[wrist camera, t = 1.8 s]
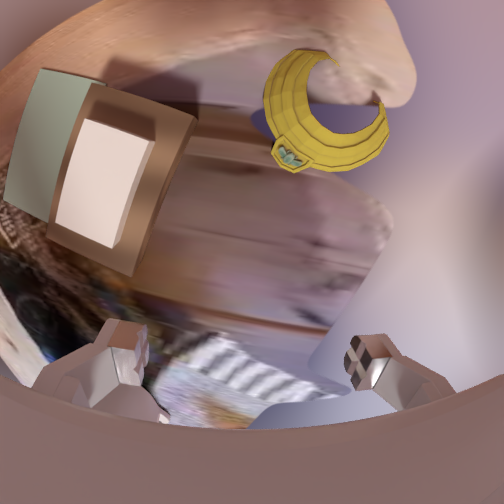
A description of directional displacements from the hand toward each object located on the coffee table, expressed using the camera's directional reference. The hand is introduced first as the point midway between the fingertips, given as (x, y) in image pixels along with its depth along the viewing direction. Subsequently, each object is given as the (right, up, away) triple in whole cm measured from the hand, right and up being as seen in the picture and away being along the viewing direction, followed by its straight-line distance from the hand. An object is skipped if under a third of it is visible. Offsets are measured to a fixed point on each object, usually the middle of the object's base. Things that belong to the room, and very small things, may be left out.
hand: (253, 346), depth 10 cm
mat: (-22, +15, +11) cm, 29 cm away
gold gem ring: (+6, +17, +14) cm, 23 cm away
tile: (-12, +10, +10) cm, 19 cm away
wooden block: (-13, +11, +14) cm, 22 cm away
